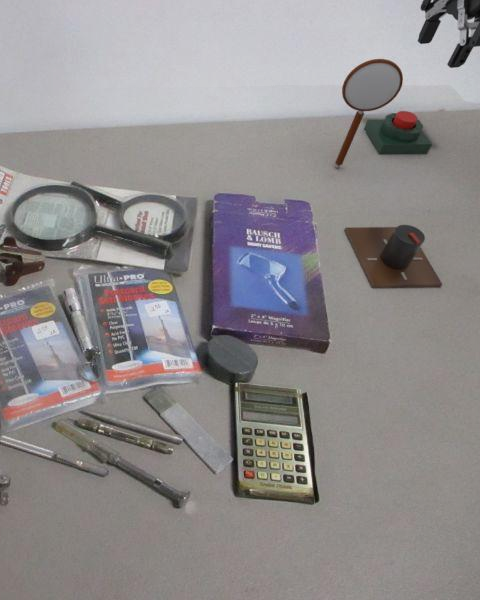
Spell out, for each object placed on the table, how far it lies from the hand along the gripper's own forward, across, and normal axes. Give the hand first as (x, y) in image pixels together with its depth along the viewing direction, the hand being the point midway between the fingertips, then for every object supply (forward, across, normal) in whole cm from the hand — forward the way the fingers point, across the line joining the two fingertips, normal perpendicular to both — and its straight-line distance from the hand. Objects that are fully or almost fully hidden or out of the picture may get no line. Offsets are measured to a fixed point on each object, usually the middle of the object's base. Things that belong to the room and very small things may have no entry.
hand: (438, 54), depth 98 cm
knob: (+14, -30, +20) cm, 38 cm away
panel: (+17, -29, +19) cm, 39 cm away
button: (+13, 0, 0) cm, 13 cm away
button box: (+17, 0, 0) cm, 17 cm away
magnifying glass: (+17, -5, +15) cm, 23 cm away
